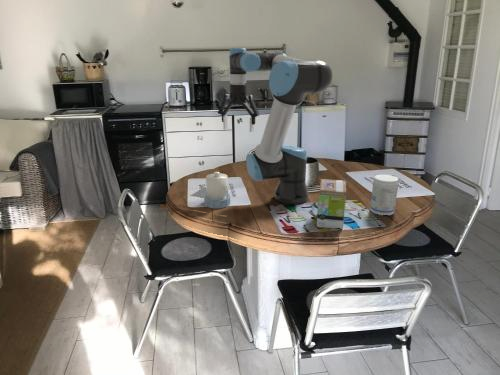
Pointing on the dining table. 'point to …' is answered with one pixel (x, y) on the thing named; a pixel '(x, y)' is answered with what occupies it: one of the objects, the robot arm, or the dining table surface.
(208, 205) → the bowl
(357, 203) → the dining table surface
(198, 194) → the mat
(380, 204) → the supplement tub
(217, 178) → the cover
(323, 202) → the tea box
